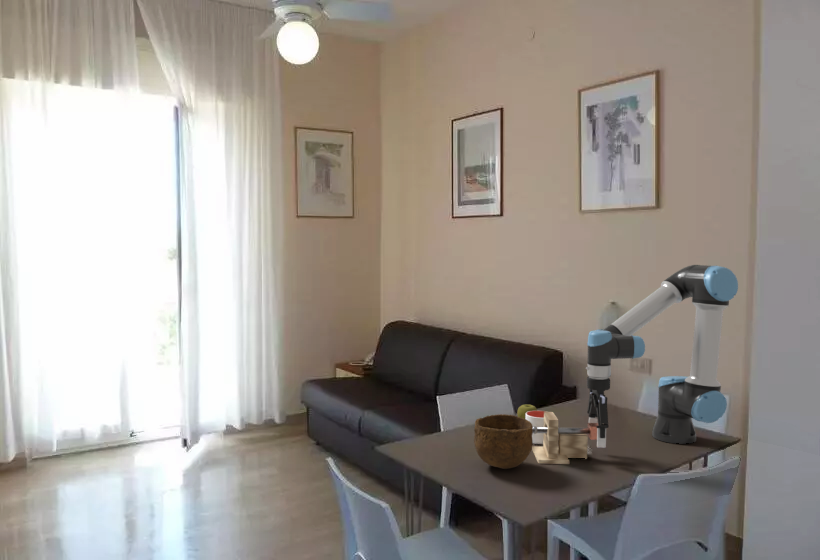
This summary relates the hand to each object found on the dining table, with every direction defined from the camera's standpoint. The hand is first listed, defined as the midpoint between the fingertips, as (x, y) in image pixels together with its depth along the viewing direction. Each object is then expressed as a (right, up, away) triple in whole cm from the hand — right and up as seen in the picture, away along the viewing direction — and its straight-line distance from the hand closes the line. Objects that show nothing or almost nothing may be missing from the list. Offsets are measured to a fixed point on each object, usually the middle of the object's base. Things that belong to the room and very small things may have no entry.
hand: (596, 441), depth 217 cm
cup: (-16, -4, +18) cm, 24 cm away
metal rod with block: (-10, +1, 0) cm, 10 cm away
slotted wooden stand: (-12, -5, +1) cm, 13 cm away
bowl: (-33, -6, -9) cm, 35 cm away
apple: (-16, -3, +41) cm, 44 cm away
